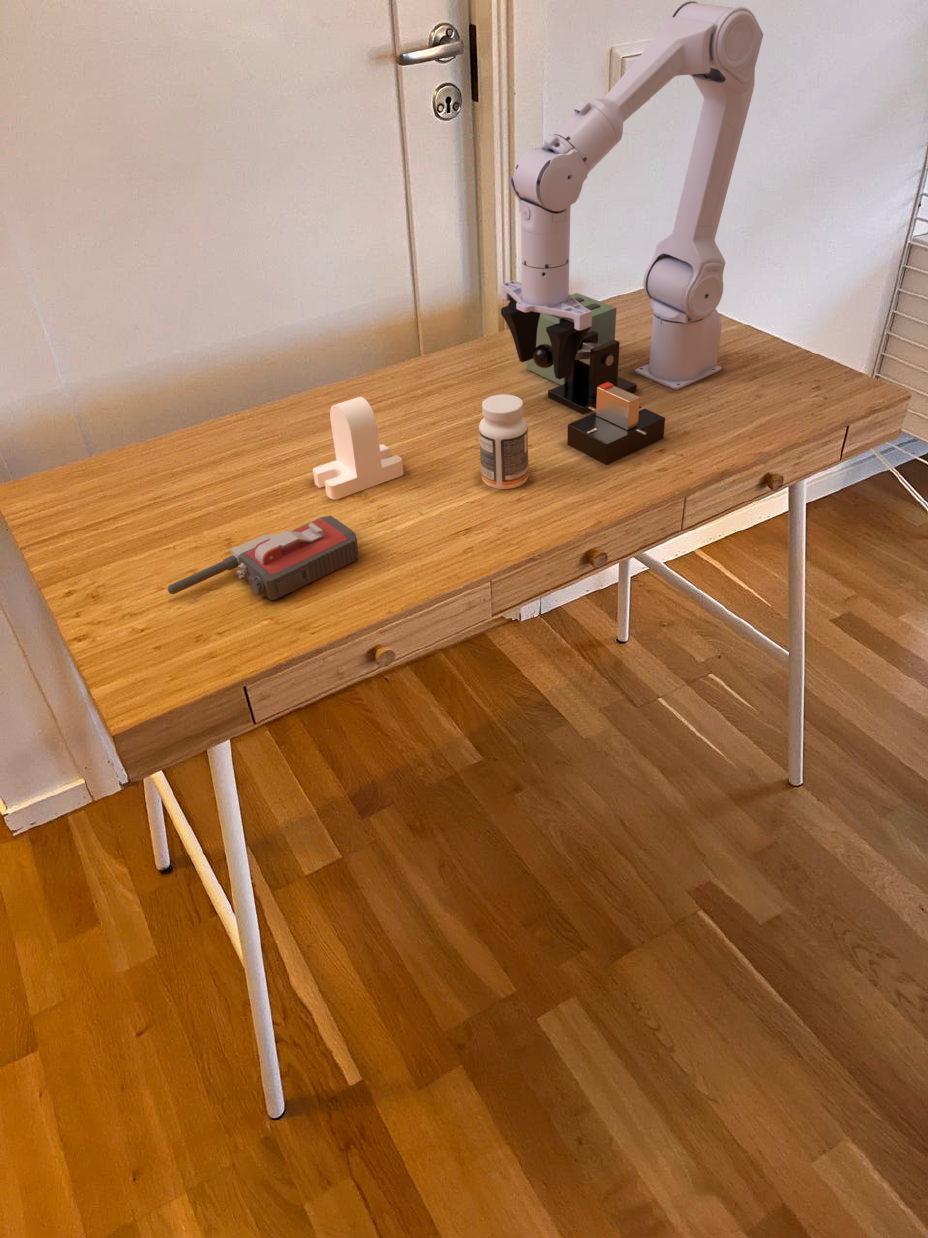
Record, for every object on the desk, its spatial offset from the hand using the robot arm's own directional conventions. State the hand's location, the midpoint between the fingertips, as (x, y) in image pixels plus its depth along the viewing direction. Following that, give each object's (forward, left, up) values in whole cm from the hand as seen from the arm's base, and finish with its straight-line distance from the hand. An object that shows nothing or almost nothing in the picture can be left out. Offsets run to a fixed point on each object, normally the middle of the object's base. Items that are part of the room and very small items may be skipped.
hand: (544, 367), depth 123 cm
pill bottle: (+14, +9, -7) cm, 18 cm away
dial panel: (-2, +12, -7) cm, 13 cm away
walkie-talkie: (+45, +8, -7) cm, 46 cm away
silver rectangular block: (-2, +11, -4) cm, 12 cm away
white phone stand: (+27, -3, -7) cm, 28 cm away
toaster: (-12, -8, -7) cm, 16 cm away
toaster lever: (-4, 0, -1) cm, 4 cm away
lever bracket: (-9, 0, -7) cm, 11 cm away
